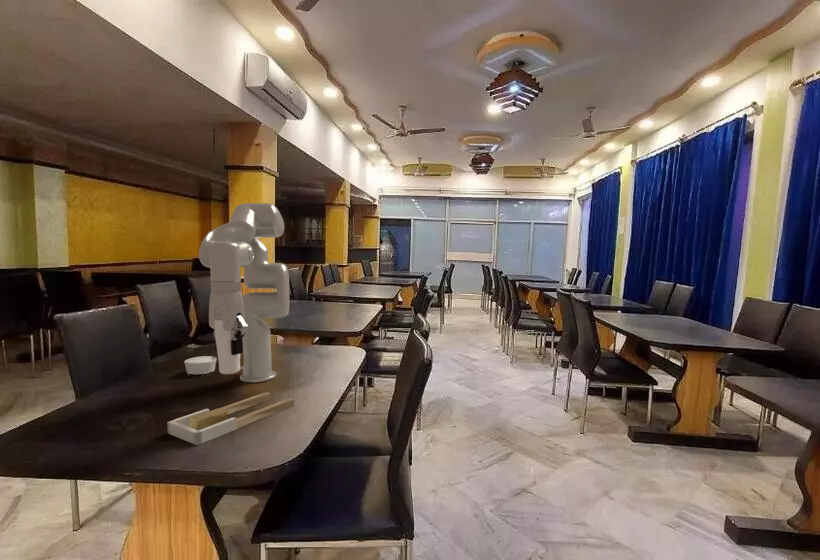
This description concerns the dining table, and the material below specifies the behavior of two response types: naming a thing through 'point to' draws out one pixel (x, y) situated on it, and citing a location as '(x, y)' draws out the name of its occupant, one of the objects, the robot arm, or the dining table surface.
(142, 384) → the dining table surface
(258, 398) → the channel
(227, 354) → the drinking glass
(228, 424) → the u-shaped frame
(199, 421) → the tan cube
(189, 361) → the ramekin
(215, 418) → the wooden cube
